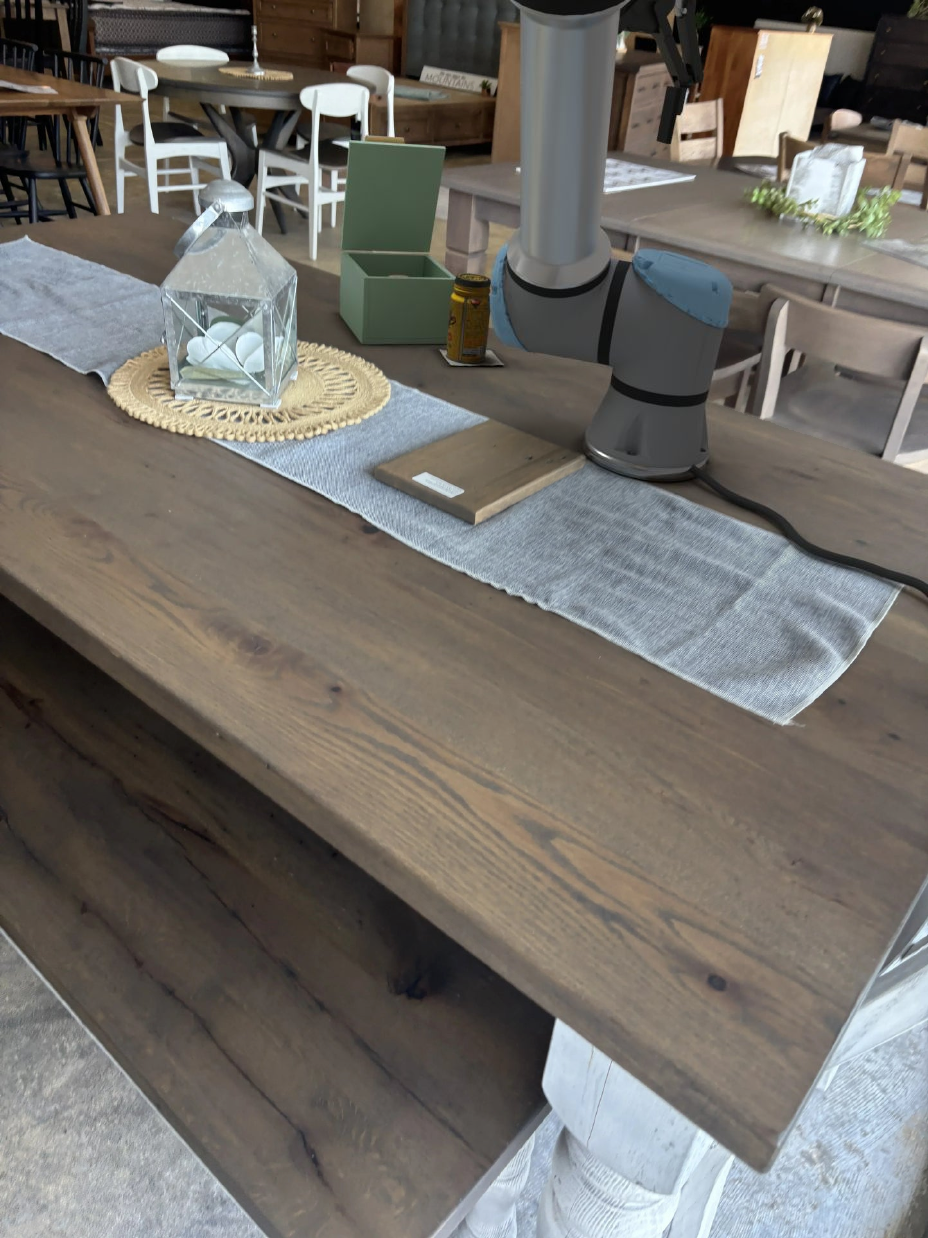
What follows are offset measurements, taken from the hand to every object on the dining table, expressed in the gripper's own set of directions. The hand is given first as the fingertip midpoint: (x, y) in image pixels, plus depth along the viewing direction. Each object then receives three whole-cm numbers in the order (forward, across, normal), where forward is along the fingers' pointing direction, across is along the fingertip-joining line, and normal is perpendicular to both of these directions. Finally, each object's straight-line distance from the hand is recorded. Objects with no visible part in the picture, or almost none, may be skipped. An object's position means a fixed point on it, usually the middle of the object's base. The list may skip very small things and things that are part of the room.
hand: (618, 139), depth 120 cm
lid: (+13, +23, -27) cm, 38 cm away
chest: (+32, +23, -22) cm, 45 cm away
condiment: (+32, +15, -7) cm, 36 cm away
